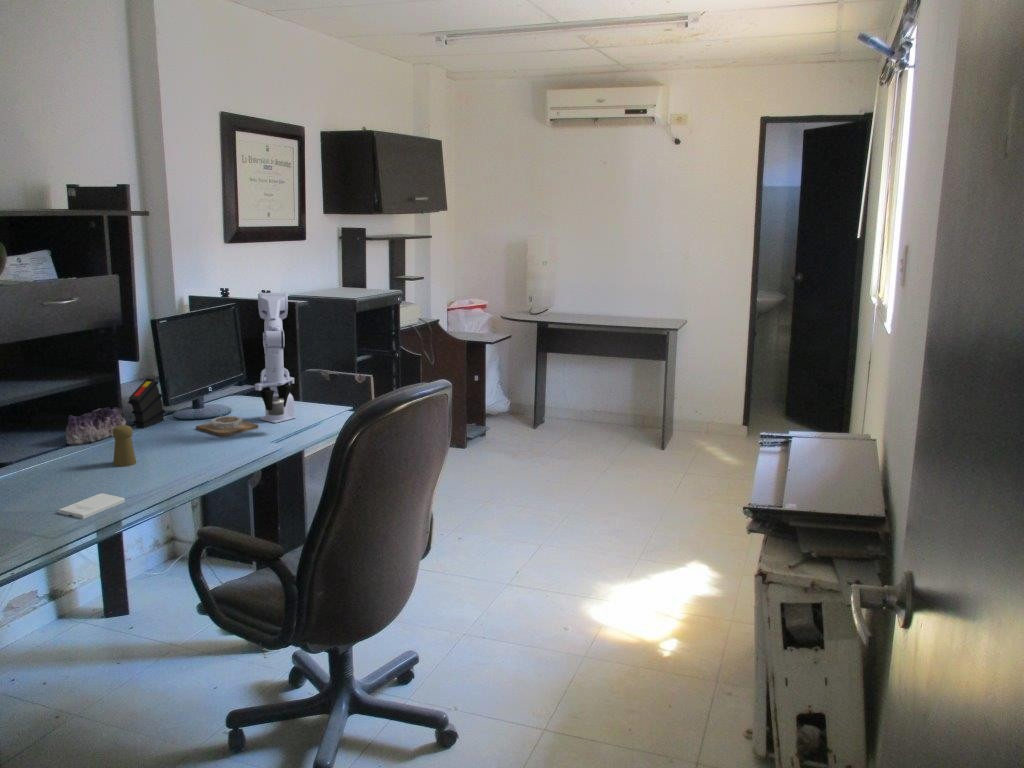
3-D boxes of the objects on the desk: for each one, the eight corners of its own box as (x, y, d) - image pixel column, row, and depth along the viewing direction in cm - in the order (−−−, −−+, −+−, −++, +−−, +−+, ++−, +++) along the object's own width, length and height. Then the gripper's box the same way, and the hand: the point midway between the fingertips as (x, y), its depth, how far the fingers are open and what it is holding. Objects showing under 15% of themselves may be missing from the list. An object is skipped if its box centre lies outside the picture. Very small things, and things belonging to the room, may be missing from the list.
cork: (114, 460, 237) (111, 424, 235) (137, 459, 239) (134, 422, 237) (112, 467, 232) (109, 429, 229) (135, 465, 234) (133, 428, 231)
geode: (90, 448, 248) (82, 417, 246) (58, 449, 251) (50, 418, 248) (135, 428, 267) (128, 399, 265) (105, 430, 270) (98, 400, 268)
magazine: (170, 413, 283) (156, 378, 273) (149, 438, 272) (133, 403, 263) (160, 412, 283) (146, 377, 274) (139, 437, 273) (123, 402, 264)
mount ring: (230, 420, 279) (229, 414, 279) (248, 425, 274) (247, 419, 274) (206, 425, 271) (205, 420, 271) (224, 431, 266) (224, 425, 266)
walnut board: (231, 420, 282) (231, 417, 282) (258, 427, 275) (258, 425, 275) (195, 429, 271) (195, 426, 271) (223, 436, 264) (222, 433, 263)
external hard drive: (125, 504, 207) (83, 520, 196) (100, 498, 210) (58, 515, 198) (124, 497, 207) (83, 514, 195) (100, 492, 209) (57, 508, 198)
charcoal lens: (277, 410, 272) (276, 396, 271) (287, 413, 269) (287, 398, 268) (264, 413, 268) (264, 398, 267) (275, 416, 265) (274, 401, 264)
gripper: (264, 372, 257) (266, 414, 260) (300, 365, 269) (301, 406, 272) (249, 369, 261) (251, 410, 264) (285, 362, 273) (286, 402, 276)
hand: (275, 408), depth 268 cm, fingers closed on charcoal lens, 5 cm apart
